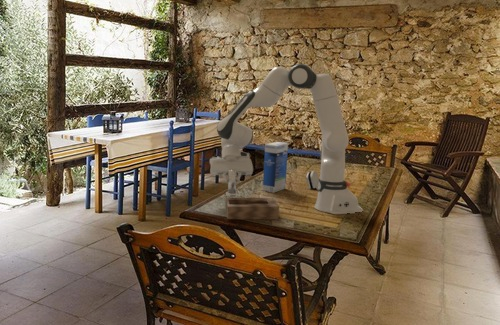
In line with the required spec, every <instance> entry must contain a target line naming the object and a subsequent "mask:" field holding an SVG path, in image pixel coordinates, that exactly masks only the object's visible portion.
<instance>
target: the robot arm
mask: <svg viewBox="0 0 500 325" xmlns="http://www.w3.org/2000/svg"><path fill="white" fill-rule="evenodd" d="M335 85H336V84H335V83H334V81H333V78H332V77H331V75H330V74H327V73H318V74H317V73H315V72H314V71H313V69H312V67H310V66H309V64H304V63H298V64H297V63H296V64H295V65H293V66H291V68H290V69H286V68H285V67H283V66H275V67H273V68H272V69H271V70H270V71H269V72H268V74H266V76H265V77H264V79H263V80H262V81H261V83H260V85H259V86H258V87H257V88H255V89H253V90H250V91H248V92H246V93H245V94H244V95H243V96H242V97H241V98H240V99H239V101H238V102H237V103H236V104H235V105H234V107H232V109H231V110H230V111H229V112H228V113H227V114H226V115H225V116H224V117H223V118H221V119H220V120H219V121H218V123H217V126H216V132H217V134H218V136H219V138H221V139H220V142H221V143H220V145H221V156H217V157H215V156H212V157H210V159H209V165H210V167H209V168H210V170H209V171H210V172H209V173H210V175H212V176H222V178H223V179H224V182H225V183H228V181H229V178H228V171H229V169H235V170H236V183H240V179H241V177H242V176H251V175H252V174H253V172H254V165H253V162H252V159H251V158H250V153H249V152H245V151H242V150H240V149H243V148H246V147H247V146H249V145H250V144H252V142H253V140H254V132H253V129H252V128H250V127H249V126H247V125H246V124H243V123H241V122H238V121H239V119H241V117H242V116H243V115H244V114H245V112H246V111H248V110H249V109H251V108H269V107H273V106H275V105H276V104H277V102H278V101H279V100H280V99H281V97H282V95H283V94H284V92H285V91H286V90H287V89H288V88H289V87H293V88H296V89H299V90H301V89H303V90H305V89H307V90H310V94H311V96H312V101H313V104H314V110H315V113H316V117H317V120H318V121H317V122H318V124H319V128H320V133H321V137H322V138H321V155H320V157H321V158H320V159H321V161H320V173H319V174H320V175H319V183H318V190H317V191H318V193H317V196H316V202H315V204H314V209H316V210H318V211H320V212H323V213H329V214H332V215H347V213H350V214H356V213H355V212H362V211H363V208H362V207H361V206H360V205H359V200H358V197H357V195H355V194H354V193H353V192H352V191H351V190H349V189H348V188H350V187H351V186H352V184H351V183H350V182H348V181H346V180H345V170H346V169H345V168H346V148H348V146H349V141H350V140H349V138H350V137H349V134H348V132H347V130H348V129H347V127H346V123H345V120H344V116H343V113H342V109H341V104H340V100H339V96H338V92H337V89H336V86H335ZM347 187H348V188H347ZM363 212H364V211H363ZM363 212H362V213H363Z"/></svg>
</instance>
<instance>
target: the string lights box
mask: <svg viewBox="0 0 500 325" xmlns="http://www.w3.org/2000/svg"><path fill="white" fill-rule="evenodd" d="M288 151H289V143H288V142H283V141H282V142H281V141H275V142H269V143H265V144H264V159H263V160H264V161H263V178H262V179H263V181H262V191H263V192H269V193H273V194H274V193H277V192H280V191H282V190H286V185H287V184H286V183H287V168H288V165H287V164H288V154H289V153H288Z"/></svg>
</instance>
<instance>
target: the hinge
mask: <svg viewBox="0 0 500 325" xmlns="http://www.w3.org/2000/svg"><path fill="white" fill-rule="evenodd" d="M305 178H306V182H307V186H308V190H311V189H316V190H317V191H319V190H318V183H319V179H320V176H319V174H318V172H317V170H311V171H308V172H307V174H306V176H305Z"/></svg>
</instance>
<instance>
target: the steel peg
mask: <svg viewBox="0 0 500 325" xmlns="http://www.w3.org/2000/svg"><path fill="white" fill-rule="evenodd" d="M227 177H228V178H229V181H228V182H227V188H228V189H227V191H226V192H225V196H226V197H229V198H235V197H238V196H239V192H238V191H237V182H236V177H237V175H236V170H235V169H229V171H228V175H227Z"/></svg>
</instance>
